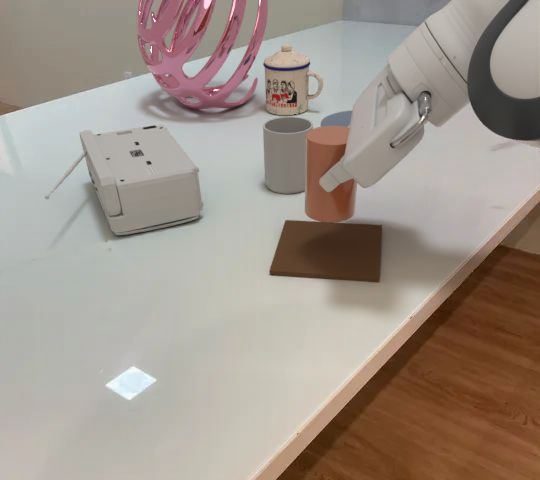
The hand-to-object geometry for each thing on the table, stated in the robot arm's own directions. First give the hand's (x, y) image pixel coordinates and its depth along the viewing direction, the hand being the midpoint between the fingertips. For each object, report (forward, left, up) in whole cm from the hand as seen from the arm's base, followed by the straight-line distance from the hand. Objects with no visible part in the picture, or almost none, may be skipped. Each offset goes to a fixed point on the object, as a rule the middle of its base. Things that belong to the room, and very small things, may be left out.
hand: (326, 171), depth 64 cm
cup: (+6, -19, -10) cm, 23 cm away
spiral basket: (+30, -58, -10) cm, 66 cm away
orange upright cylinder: (-1, 0, -5) cm, 5 cm away
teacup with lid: (+11, -55, -10) cm, 57 cm away
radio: (+22, -15, -6) cm, 28 cm away
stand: (-3, -39, -10) cm, 41 cm away
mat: (-1, 0, -10) cm, 10 cm away
